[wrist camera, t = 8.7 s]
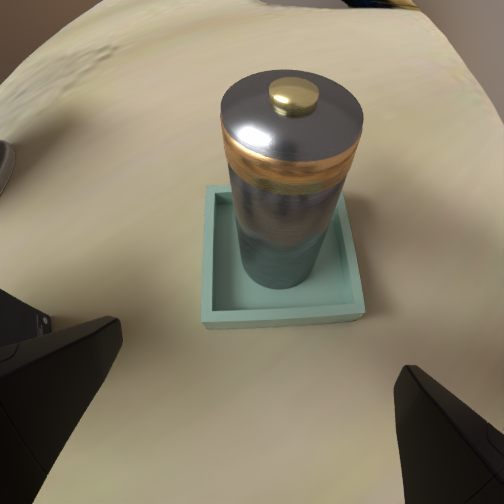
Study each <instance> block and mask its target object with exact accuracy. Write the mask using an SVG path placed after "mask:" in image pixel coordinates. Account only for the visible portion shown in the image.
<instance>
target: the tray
mask: <svg viewBox="0 0 504 504" xmlns="http://www.w3.org/2000/svg"><path fill="white" fill-rule="evenodd" d="M364 313H366V312H365V305H364V298H363V292H362V286H361V280H360V274H359V268H358V263H357V257H356V252H355V247H354V242H353V237H352V232H351V227H350V223H349V218H348V214H347V209H346V205H345V201H344V197H343V192H342V191H341V194H340V197H339V199H338V202H337V205H336V208H335V211H334V214H333V216H332V219H331V222H330V225H329V228H328V230H327V233H326V236H325V238H324V241H323V244H322V247H321V249H320V252H319V254H318V257H317V260H316V262H315V265H314V268H313V270H312V272H311V273H310V275H309V276H308V277H307V278H306V279H305V280H304V281H303V282H302V283H300V284H299V285H297V286H295V287H292V288H289V289H283V290H276V289H269V288H266V287H263V286H261V285H259V284H257V283H256V282H254V281H253V280H252V279H251V278H250V277H249V276H248V275H247V273H246V272H245V270H244V268H243V266H242V262H241V256H240V249H239V242H238V234H237V227H236V220H235V213H234V205H233V198H232V191H231V185H220V186H206V200H205V218H204V239H203V265H202V302H201V322H202V323H203V325H204V326H205V327H206V328H207V329H239V328H265V327H284V326H300V325H314V324H326V323H338V322H348V321H356V320H357V319H358V318H360V317H361V316H362V315H363V314H364Z"/></svg>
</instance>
